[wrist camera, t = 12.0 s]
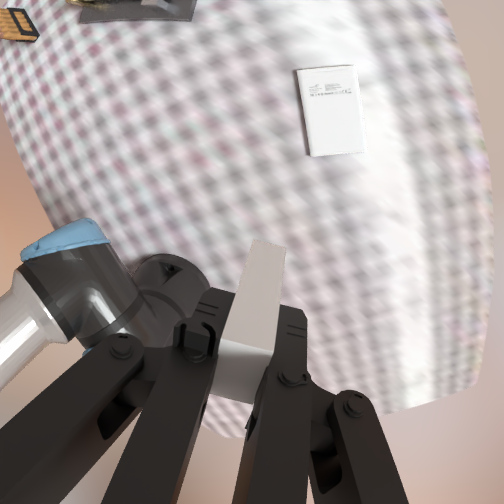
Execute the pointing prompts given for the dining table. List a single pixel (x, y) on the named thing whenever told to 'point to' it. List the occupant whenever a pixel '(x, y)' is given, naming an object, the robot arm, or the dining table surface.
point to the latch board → (135, 10)
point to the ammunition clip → (17, 25)
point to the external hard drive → (332, 110)
